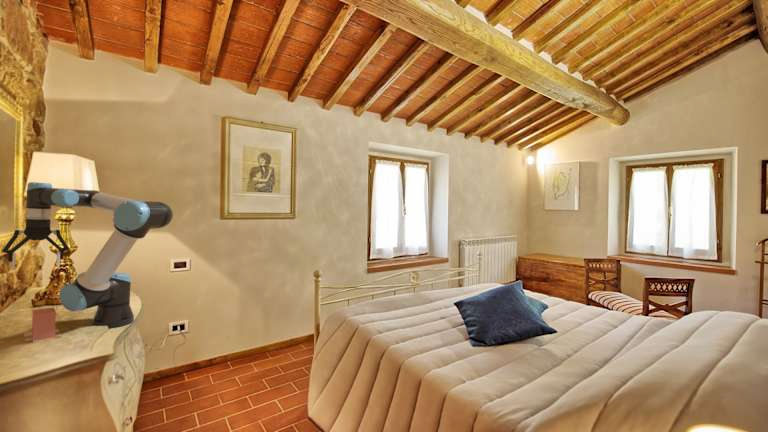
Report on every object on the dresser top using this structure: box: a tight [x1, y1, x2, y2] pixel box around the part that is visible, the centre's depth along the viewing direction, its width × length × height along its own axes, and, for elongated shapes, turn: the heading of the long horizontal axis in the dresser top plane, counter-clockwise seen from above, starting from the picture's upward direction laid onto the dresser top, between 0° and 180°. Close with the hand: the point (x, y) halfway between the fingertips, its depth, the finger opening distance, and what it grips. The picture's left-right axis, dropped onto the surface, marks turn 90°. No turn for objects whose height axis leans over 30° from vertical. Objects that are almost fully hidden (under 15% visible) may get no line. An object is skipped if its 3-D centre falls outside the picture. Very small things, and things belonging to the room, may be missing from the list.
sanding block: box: [31, 306, 57, 344], centre depth 135 cm, size 8×6×10 cm
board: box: [23, 326, 63, 345], centre depth 138 cm, size 16×10×1 cm, turn 48°
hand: (36, 267), depth 148 cm, fingers open, 13 cm apart
